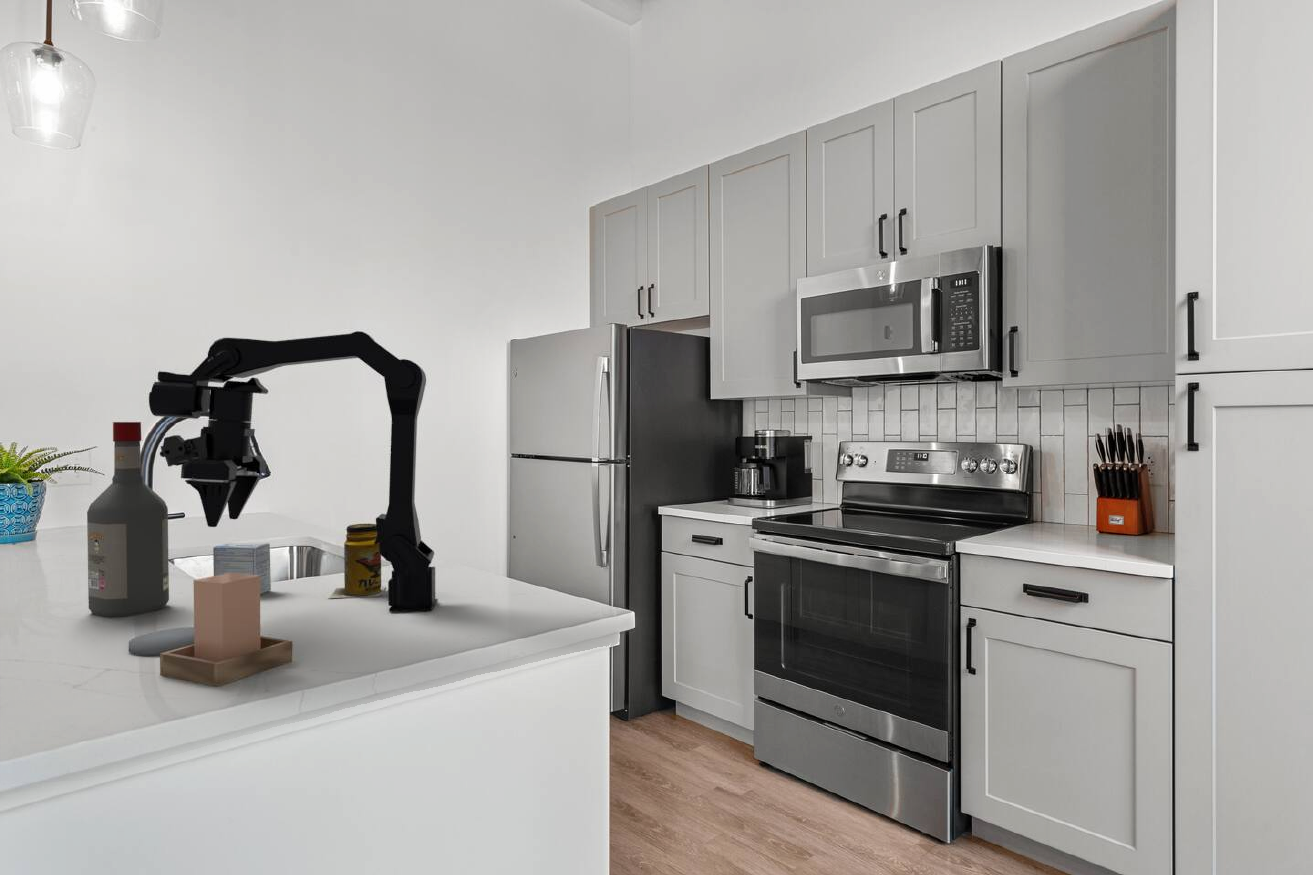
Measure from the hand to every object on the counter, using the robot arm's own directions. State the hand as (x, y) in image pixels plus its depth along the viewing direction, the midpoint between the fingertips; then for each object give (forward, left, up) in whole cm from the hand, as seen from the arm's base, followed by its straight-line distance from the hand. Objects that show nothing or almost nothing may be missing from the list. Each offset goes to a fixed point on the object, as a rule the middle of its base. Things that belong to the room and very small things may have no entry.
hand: (223, 522), depth 115 cm
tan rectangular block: (-11, +25, -15) cm, 31 cm away
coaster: (0, +14, -15) cm, 20 cm away
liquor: (+17, -7, -15) cm, 24 cm away
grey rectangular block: (+4, -17, -15) cm, 23 cm away
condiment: (-16, -15, -15) cm, 26 cm away
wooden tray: (-11, +25, -15) cm, 31 cm away
